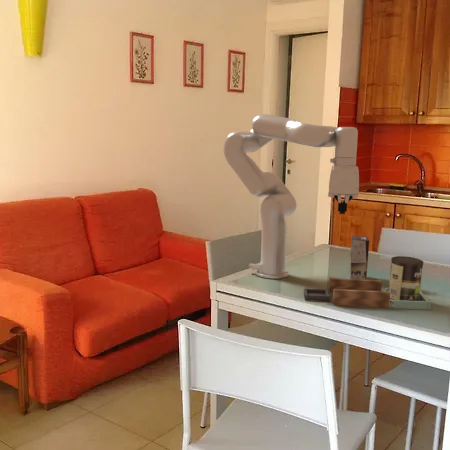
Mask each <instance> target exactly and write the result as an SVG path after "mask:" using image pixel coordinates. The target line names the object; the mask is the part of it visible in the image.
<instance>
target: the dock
mask: <svg viewBox="0 0 450 450" xmlns="http://www.w3.org/2000/svg"><path fill="white" fill-rule="evenodd" d="M384 291H389V287H385V288H384ZM392 308H393V309H409V310H410V309H411V310H428V311H429V310H431V301H430V300H429V299H428V298H427V296H426V295H425V294H424V293H423V292H422V291H421V290H420V293H419V301H408V300H394V302H392Z"/></svg>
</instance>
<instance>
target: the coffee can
mask: <svg viewBox="0 0 450 450" xmlns="http://www.w3.org/2000/svg"><path fill="white" fill-rule="evenodd" d="M390 260H391V262H390V263H391V264H390V273H389V281H388V282H389V284H388V288H389V292H390V302H391V303H393V302H394V300H408V301H419V293H420V291H421V285H422V274H423V265H424V260H422V259H420V258H416V257H412V256H403V255H402V256H401V255H398V256H396V255H395V256H392V257H391V258H390Z"/></svg>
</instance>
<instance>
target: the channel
mask: <svg viewBox="0 0 450 450" xmlns="http://www.w3.org/2000/svg"><path fill="white" fill-rule="evenodd" d="M328 281H329V282H328V294H333V295H332V305H333V306H345V307H346V306H349V307H369V308H370V307H371V308H373V307H374V308H388V309H389V308H390V302H391V301H390V292H389V291H385V290H382V288H383V280H380V279H379V280H378V279H366V280H362V279H350V278H336V277H330V278H329V280H328Z"/></svg>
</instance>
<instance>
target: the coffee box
mask: <svg viewBox="0 0 450 450" xmlns="http://www.w3.org/2000/svg"><path fill="white" fill-rule="evenodd" d="M350 242H351V243H350V258H349V259H350V260H349V273H348V276H349V279H362V280H367V279H368V275H367V274H368V263H369V251H370V250H369V248H370V239H369V237H368V236H361V235H360V236H359V235H357V236H356V235H355V236H353V235H352V236H351V241H350Z"/></svg>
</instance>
